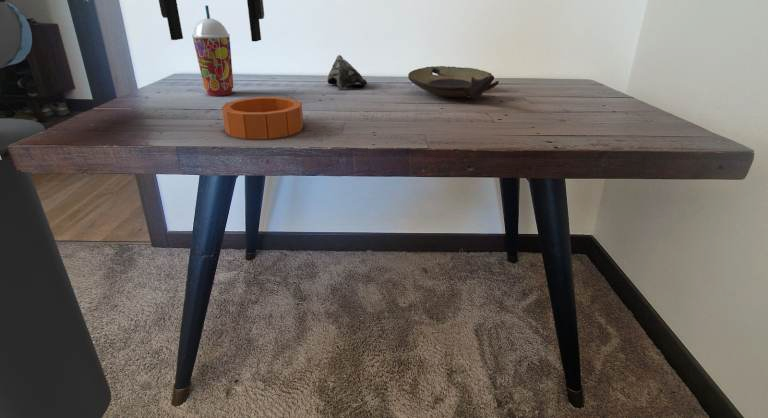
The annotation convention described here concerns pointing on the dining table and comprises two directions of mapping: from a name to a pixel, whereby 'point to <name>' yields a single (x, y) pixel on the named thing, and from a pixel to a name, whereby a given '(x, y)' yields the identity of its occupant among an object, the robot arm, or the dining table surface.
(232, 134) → the ring
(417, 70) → the broken bowl
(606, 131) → the dining table surface
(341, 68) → the fossil
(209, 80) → the smoothie
